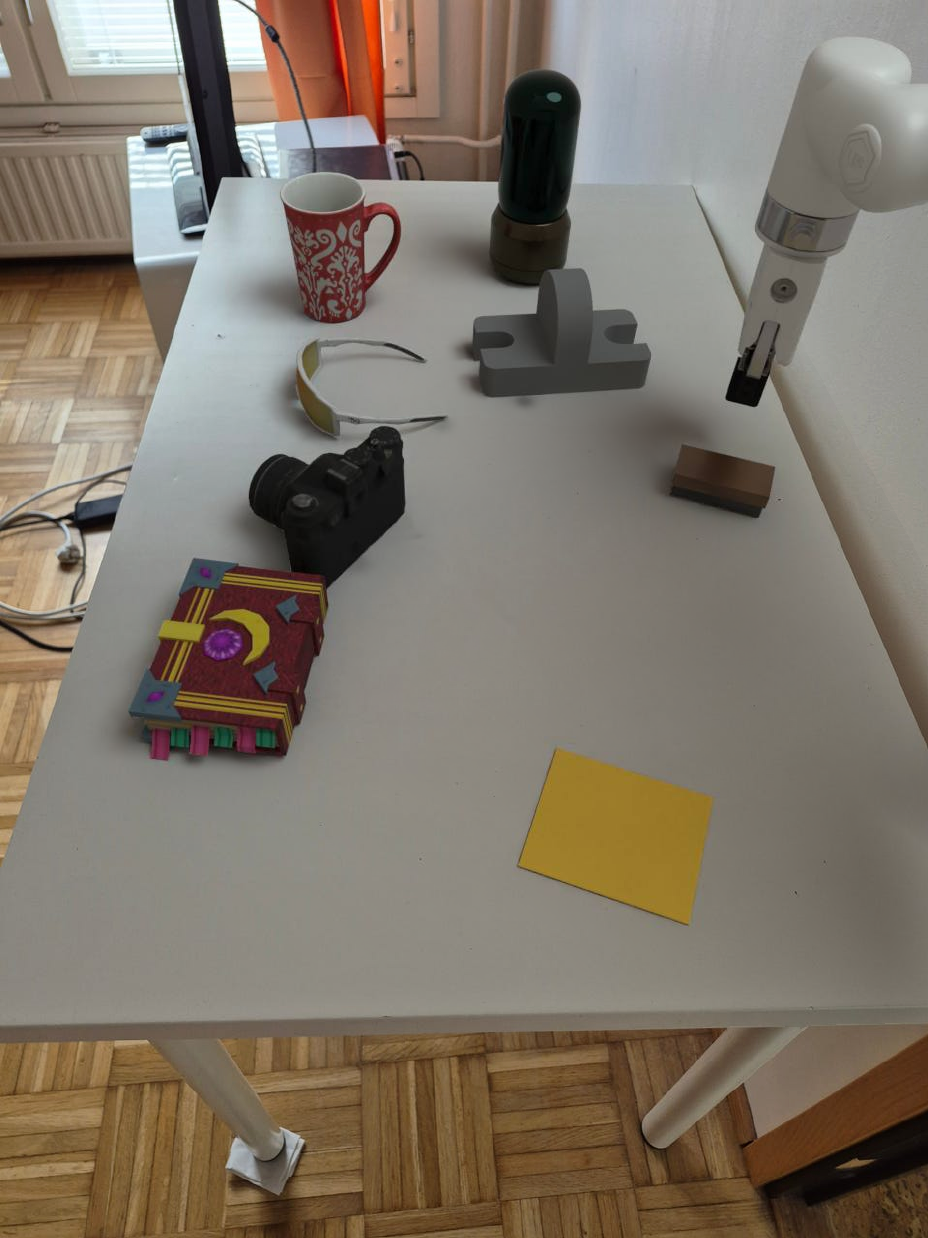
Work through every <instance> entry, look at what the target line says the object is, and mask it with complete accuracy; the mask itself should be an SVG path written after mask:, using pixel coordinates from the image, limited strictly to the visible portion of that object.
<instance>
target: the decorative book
mask: <svg viewBox="0 0 928 1238" xmlns="http://www.w3.org/2000/svg"><path fill="white" fill-rule="evenodd" d="M327 590H328V589H327ZM327 590H326V582H325V576H323V575H314V574H305V573H297V572H291V571H287V570H278V569H269V568H261V567H252V566H251V567H250V566H242V565H239V563H238V562H231V561H223V560H215V559H207V558H198V557H193V558H192V559H191V562H190V565H189V567H188V569H187V572H186V574H185V577H184V579H183V582H182V583H181V586H180V589H179V591H178V596H179V598H178V600H177V603H176V605H175V607H174V609H173V612H172V614H171V617H170V619H169V620H168V619H165V620H163V622H162V624H161V627H160V629H159V632H158V634H157V639H158V641H159V645H158V648H157V650H156V653H155V655H154V657H153V659H152V661H151V664H150V667H149V668H148V667H146V669H145V671H144V674H143V676H142V678H141V681H140V683H139V685H138V687H137V689H136V691H135V694H134V696H133V699H132V701H131V704H130V706H129V708H128V710H127V713H128V714H129V716H130V717H131V718H139V719H143V720H144V722H145V723H144V726H143V728H142V731H141V733H140V735H139V736H140V739H141V741H142V742H147V743H151V751H150V759H155V760H161V761H169V756H170V747H179V748H186V749H187V748H188V749H189V755H195V756H204V757H208V756H209V755H208V754H209V747H213V748H220V749H227V750H228V749H229V750H236V751H237V752H239V753H240V752H241V753H246V754H253V755H254V754H256V753H262V754H270V755H276V756H283V757H286V756H287V755H288V751H289V747H290V744H291V739H292V737H293V734H294V730H295V726H296V724H297V725H300V724H301V722H302V719H303V715H304V711H305V707H306V704H307V699H306V693H305V692H306V691H305V690H306V687H307V685H308V684H307V683H308V681H309V680H308V679H309V676H310V672H311V670H312V666H313V662H314V659H315V656H320V653H321V650H322V646H323V643H324V639H325V629H324V623H325V620H326V617H327V613H328V609H329V598H328V591H327ZM189 747H190V748H189Z"/></svg>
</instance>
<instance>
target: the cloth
mask: <svg viewBox="0 0 928 1238" xmlns="http://www.w3.org/2000/svg"><path fill="white" fill-rule="evenodd" d="M552 758H553V759H552V760H551V763H550V766H549V770H548V774H547V776H546V779H545V783H544V785H543V788H542V791H541V794H540V798H539V801H538V804H537V806H536V810H535V813H534V816H533V819H532V822H531V825H530V829H529V831H528V834H527V837H526V840H525V844H524V847H523V849H522V852H521V856H520V858H519V862H518V865H517V867H518V868H521V869H524V870H527V871H530V872H532V873H535V874H538V875H541V876H543V877H547V878H550V879H553V880H556V881H558V882H562V883H564V884H567V885H571V886H573V887H576V888H579V889H581V890H585V891H588V892H591V893H594V894H596V895H600V896H602V897H605V898H608V899H611V900H613V901H617V902H620V903H622V904H625V905H628V906H630V907H634V908H637V909H640V910H643V911H646V912H648V913H651V914H653V915H654V914H655V915H658V916H660V917H663V918H666V919H668V920H672V921H675V922H677V923H680V924H684V925H687V926H689V925H690V921H691V916H692V911H693V906H694V901H695V897H696V895H695V894H696V890H697V884H698V879H699V875H700V869H701V864H702V858H703V854H704V848H705V844H706V838H707V832H708V828H709V823H710V817H711V810H712V806H713V801H714V797H713V796H709V795H706V794H703V793H700V792H696V791H694V790H690V789H687V788H684V787H681V786H678V785H675V784H671V783H668V782H665V781H661V780H659V779H656V778H653V777H649V776H647V775H643V774H640V773H637V772H634V771H630V770H628V769H625V768H621V767H618V766H615V765H612V764H608V763H605V762H602V761H600V760H597V759H593V758H590V757H586V756H583V755H580V754H577V753H575V752H571V751H567V750H564V749H561V748H558V747H556V748H555V752H554V755H553V757H552Z"/></svg>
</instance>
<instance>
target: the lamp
mask: <svg viewBox="0 0 928 1238" xmlns="http://www.w3.org/2000/svg"><path fill="white" fill-rule="evenodd" d="M504 93H505V94H504V96H503V102H502V113H501V129H500V131H501V132H500V145H499V146H500V148H499V161H498V178H497V197H498V203H497V204H496V206H495V208H494V210H493V212H492V213H491V217H490V231H489V246H488V247H489V249H488V258H489V262H490V265H491V267H492V268H493V270H494V271H495V272H496V273H497V274H498V275H499V276H500V277H502V278H504V279H506V280H509V281H510V282H514V283H519V284H524V285H536V284H540V282H541V278H542V275H543V273H544V271H546V270H554V269H565V266H566V263H567V258H568V252H569V251H568V250H569V243H570V235H571V228H572V220H571V216H570V213H569V210H568V207H567V206H568V204H569V200H570V196H571V191H572V182H573V175H574V166H575V159H576V150H577V144H578V137H579V128H580V119H581V112H582V97H581V94H580V91H579V88H578V87H577V85H576V84H575V82H574V81H573V80H572V79H571V78H570V77H568V76H567V75H566V74H563V73H562V72H560V71H557V70H553V69H549V68H547V69H546V68H537V69H531V70H527V71H524V72H523V73H521V74H519V75H518V76H516V77H515V78H514V79H513V80H512V81H511V82H510V83H509V85H508V86H507V88H506V90H505V92H504Z"/></svg>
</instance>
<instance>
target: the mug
mask: <svg viewBox="0 0 928 1238" xmlns="http://www.w3.org/2000/svg"><path fill="white" fill-rule="evenodd" d="M366 195H367V191H366V188H365V186H364V185H363V184H362V182H361V181H360V180H358V179H357V178H355V177H353V176H351V175H348V174H345V173H340V172H333V171H319V172H310V173H306V174H302V175H298V176H296V177H293V178H292V179H290V180H289V181H287V182H285V184H284V185H282V187H281V189H280V191H279V199H280V200H281V202H282V204H283V209H284V214H285V220H286V226H287V230H288V235H289V241H290V245H291V250H292V255H293V262H294V266H295V271H296V276H297V282H298V286H299V292H300V298H301V303H302V308H303V311H304V313H305V314H306V315H307V316H309V317H310V318H311V319H313V320H316V321H318V322H323V323H329V324H330V323H331V324H332V323H333V324H335V323H343V322H346V321H350V320H352V319H354V318H357V317H358V316H359V315H360V314H361V313H363V311H364V310H365V307H366V293H367V292H368V291H369V290H370V288H371V287H372V286H373V285H374V284H375V283H376V281H377V280H379V278H380V277H381V275H383V273H384V272H385V270H387V268H388V267H389V265H390V263H391V262H392V260H393V259H394V256H395V255H396V253H397V251H398V248H399V246H400V242H401V237H402V223H401V219H400V216H399V213H398V211H397V210H396V209H395V207H394V206H392V205H391V204H389V203H387V202H374V203H371V204H369V205H366V206H365V199H366ZM380 215H385V216H388V217H389V218H390V219H391V221H392V224H393V225H392V226H393V233H392V237H391V240H390V243H389V245H388V246H387V247H386V250H385V252H384V253H383V255H382V256H381V257H380V259H379V260H378V262H377V263H376V265H374V267H373V268H372V269H371V270H370V271H369V272H365V271H366V269H365V267H366V266H365V265H366V263H365V261H366V260H365V257H366V255H365V234H366V232H368V230H369V228H370V225H371V222H372V221H373V220H374V219H375V218H376V217H377V216H380Z"/></svg>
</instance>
